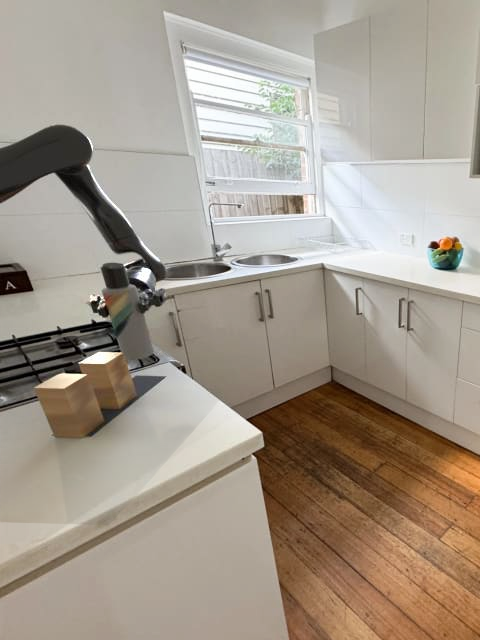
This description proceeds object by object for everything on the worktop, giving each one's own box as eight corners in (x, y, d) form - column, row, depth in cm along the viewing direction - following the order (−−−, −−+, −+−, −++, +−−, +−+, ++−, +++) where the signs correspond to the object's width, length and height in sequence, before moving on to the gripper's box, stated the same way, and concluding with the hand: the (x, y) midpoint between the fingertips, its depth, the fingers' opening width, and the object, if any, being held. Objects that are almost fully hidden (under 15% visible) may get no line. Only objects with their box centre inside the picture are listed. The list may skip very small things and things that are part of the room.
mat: (92, 438, 67) (91, 436, 67) (52, 437, 67) (51, 435, 67) (167, 377, 87) (166, 376, 87) (136, 376, 87) (136, 375, 87)
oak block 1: (83, 438, 67) (63, 388, 62) (54, 437, 66) (33, 387, 62) (104, 421, 71) (87, 374, 67) (78, 420, 71) (59, 373, 67)
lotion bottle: (144, 347, 86) (118, 259, 78) (160, 352, 84) (135, 262, 76) (117, 356, 82) (86, 264, 73) (133, 362, 80) (104, 268, 71)
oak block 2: (120, 409, 75) (105, 363, 71) (94, 408, 75) (78, 363, 71) (137, 395, 79) (123, 352, 75) (113, 395, 79) (98, 351, 75)
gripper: (92, 275, 86) (70, 297, 72) (166, 270, 92) (160, 289, 78) (102, 307, 89) (83, 333, 75) (173, 300, 95) (168, 323, 81)
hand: (122, 310), depth 77 cm, fingers closed on lotion bottle, 5 cm apart
